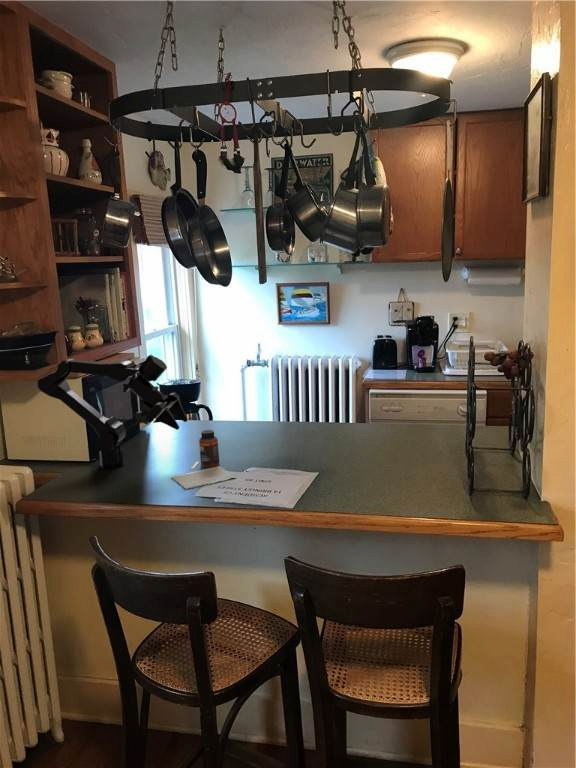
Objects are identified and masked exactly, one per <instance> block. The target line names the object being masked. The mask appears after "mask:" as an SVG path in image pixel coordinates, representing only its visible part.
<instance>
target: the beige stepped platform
mask: <svg viewBox="0 0 576 768" xmlns="http://www.w3.org/2000/svg"><path fill="white" fill-rule="evenodd" d="M226 473H230V471H227V470H226V469H224V468H223V467H222V466H220V465H218V466H216V467H211V468H206V469H201V470H196V471H192V472H191V471H190V472H188V473H183V474H177V475H174V476H171V479H172V478H173V479H174V480H175V481H174V480H173V479H172V480H173V481H174V482H175V483H177V482H178V483H179V484H180V485H179V484H178V483H177V484H178V485H179V486H180V487H182V488H183V487H184V488H185V489H184V488H183V489H184V490H186V489H187V490H190V489H189V488H191V489H194V488H199V487H203V485H204V486H207V485H206V484H208V483H211V482H212V481H215V480H216V479H217V478H220V477H222V476H221V475H223V476H225V474H226ZM228 475H229V474H228ZM208 485H209V484H208Z"/></svg>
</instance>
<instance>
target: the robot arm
mask: <svg viewBox="0 0 576 768" xmlns="http://www.w3.org/2000/svg"><path fill="white" fill-rule="evenodd" d="M57 366H58V369H57V371H56V372H55V373H53V374H50V375H48V376H47V377H45V378H43V379H40V380H38V379H37V388H38V390H39V391H40V392H41V393H43V394H45V395H47V396H48V397H51V398H53V399H57V400H59V401H61V402H62V403H63V404H64V405H66V406H67V407H68V408H69V409H70V410H71V411H73V412H74V413H75V414H77V415H78V416H79V417H80V418H82V420H84V421H85V422H86V423H87V424H89V426H91V427H92V428H93V429H94V431H95V433H96V435H97V437H98V438H99V440H98V441H97V442H96V444H94V446H95V449H96V451H97V452H99V453H98V454H99V463H98V464H99V466H100V467H101V469H102V470H107V469H113V468H118V467H123V466H124V454H123V450H122V449H121V446H120V445H121V444H122V441H123V439H124V438H125V437H126V435H127V431H126V427H125V426H124V423H123V422H121V421H120V420H118V418H117V417H115V416H111V417H109V418H108V417H106V416H104V415H103V414H102V413H100V412H99V411H98V410H96V408H94V407H93V406H92V405H90V403H88V402H87V401H86V400H85V399H83V398H82V397H81V396H80V395H78V394H77V393H76V392H75V391H74V390H72V389H71V387H70V385H69V382H68V381H67V380H66V379H67V378H68V377H69V376H70V374H71V373H74V374H85V375H93V376H94V375H95V376H96V375H97V376H103V377H106V378H108V379H110V380H114V381H117V382H123V384H122V386H123V388H122V389H123V390H122V392H123V393H127V392H128V391H130V390H131V391H132V392H133V393H134V394H135V395H136V396H137V397H138V398H139V399H140V405H142V406H143V407H142V408H141V409H140V411H137V412H136V413H135V415H134V418H135V420H137V422H138V423H139V424H145V425H149V423H150V424H151V423H153V424H155V423H162V424H164V425H167V426H168V427H170V428H172V429H174V430H176V431H178V430H179V429H180V425H179V424H178V422H177V420H176V419H175V417H177V418H178V419H180V420H181V421H183V422H184V423H187V421H188V417H187V415H186V413H185V410H184V407H183V405H182V403H181V399H180V397H181V396H180V395H179V394H178V393H176V392H170V394H168V395H167V394H165V395H164V394H163V393H162V392H161V391H160V390H159V389H160V387H159V386H157V385H156V386H155V385H154V384H152V383H151V382H157V380H158V379H159V378H160V377H161V376H162V374H163V373H165V371H166V370H167V369H168V367H167V364H166V363H165V362H164V361H163V360H162V359H160V358H159V357H156V356H154V355H153V354H148V356H147V357H146V359H145V360H144V361H143V362H142V363H141V364H138V363H133V362H132V361H131V360H126V359H125V360H117V361H109V362H104V361H92V360H84V359H82V360H81V359H74V358H67V359H64V360H61V361H60V362H59V364H58V365H57ZM137 374H138V375H137ZM135 375H137V376H135ZM66 377H67V378H66ZM65 378H66V379H65ZM126 380H128V382H124V381H126Z"/></svg>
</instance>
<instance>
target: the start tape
mask: <svg viewBox="0 0 576 768" xmlns="http://www.w3.org/2000/svg"><path fill="white" fill-rule="evenodd" d="M199 463H200V461H199V460H198V461H195V462H194V464H193V465H192V466H191V467H190V470H194V469H195V468H196V467H197V466H198V464H199Z"/></svg>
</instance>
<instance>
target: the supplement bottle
mask: <svg viewBox="0 0 576 768" xmlns="http://www.w3.org/2000/svg"><path fill="white" fill-rule="evenodd" d="M200 434H201V437H200V438H199V440H198V441H199V442H198V443H199V454H200V456H199V458H200V466H201V467H203V468H206V469H209V468H214V467H218V466H220V454H219V452H220V451H219V442H218V441H219V440H218V437H216V436H215V430H213V429H204V430H202V431H201V433H200Z"/></svg>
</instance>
